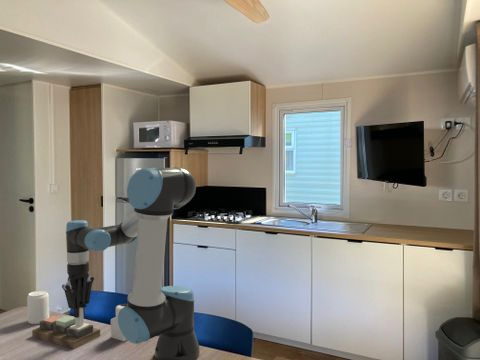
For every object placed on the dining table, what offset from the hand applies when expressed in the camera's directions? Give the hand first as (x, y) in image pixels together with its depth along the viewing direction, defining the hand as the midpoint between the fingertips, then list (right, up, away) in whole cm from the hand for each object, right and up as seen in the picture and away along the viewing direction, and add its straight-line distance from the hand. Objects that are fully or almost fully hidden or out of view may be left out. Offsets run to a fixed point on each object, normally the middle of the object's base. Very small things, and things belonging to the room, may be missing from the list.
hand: (79, 324), depth 149 cm
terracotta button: (-13, -3, +7) cm, 15 cm away
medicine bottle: (+16, -6, +3) cm, 17 cm away
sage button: (-7, -2, +3) cm, 8 cm away
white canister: (-25, -6, +19) cm, 31 cm away
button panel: (-7, -6, +4) cm, 9 cm away
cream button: (0, -3, 0) cm, 3 cm away
